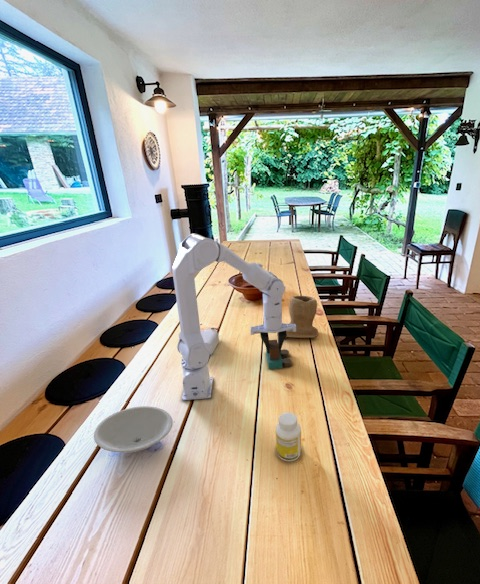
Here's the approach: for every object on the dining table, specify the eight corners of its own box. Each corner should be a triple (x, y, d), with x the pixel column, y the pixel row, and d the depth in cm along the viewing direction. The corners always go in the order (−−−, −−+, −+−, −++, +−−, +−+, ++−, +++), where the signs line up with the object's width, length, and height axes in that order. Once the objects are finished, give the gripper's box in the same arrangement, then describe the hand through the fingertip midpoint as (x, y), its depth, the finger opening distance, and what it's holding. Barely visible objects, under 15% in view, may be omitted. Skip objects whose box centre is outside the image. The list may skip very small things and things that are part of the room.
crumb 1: (289, 357, 109) (289, 353, 108) (280, 358, 108) (280, 354, 108) (288, 352, 112) (288, 348, 111) (278, 353, 111) (278, 349, 111)
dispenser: (223, 335, 125) (212, 355, 112) (201, 334, 127) (187, 353, 113) (222, 324, 123) (210, 343, 110) (199, 323, 125) (185, 342, 111)
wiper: (282, 368, 103) (282, 352, 101) (268, 369, 103) (268, 353, 100) (278, 352, 112) (278, 337, 110) (266, 353, 112) (265, 338, 109)
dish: (85, 466, 71) (78, 449, 69) (118, 420, 84) (113, 405, 82) (162, 470, 69) (158, 453, 67) (184, 422, 82) (181, 407, 80)
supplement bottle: (286, 439, 75) (285, 406, 71) (305, 450, 72) (306, 416, 68) (271, 454, 72) (270, 420, 68) (291, 466, 69) (291, 431, 64)
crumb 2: (292, 367, 103) (292, 362, 103) (282, 367, 103) (282, 363, 103) (290, 361, 106) (290, 357, 106) (281, 362, 106) (281, 358, 106)
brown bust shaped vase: (318, 327, 129) (319, 292, 122) (317, 342, 118) (319, 304, 112) (280, 326, 131) (279, 291, 125) (276, 340, 120) (275, 303, 114)
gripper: (293, 307, 104) (293, 344, 110) (249, 310, 104) (251, 347, 109) (297, 316, 98) (297, 354, 104) (249, 319, 97) (252, 358, 103)
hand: (273, 351), depth 106 cm, fingers closed on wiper, 3 cm apart
